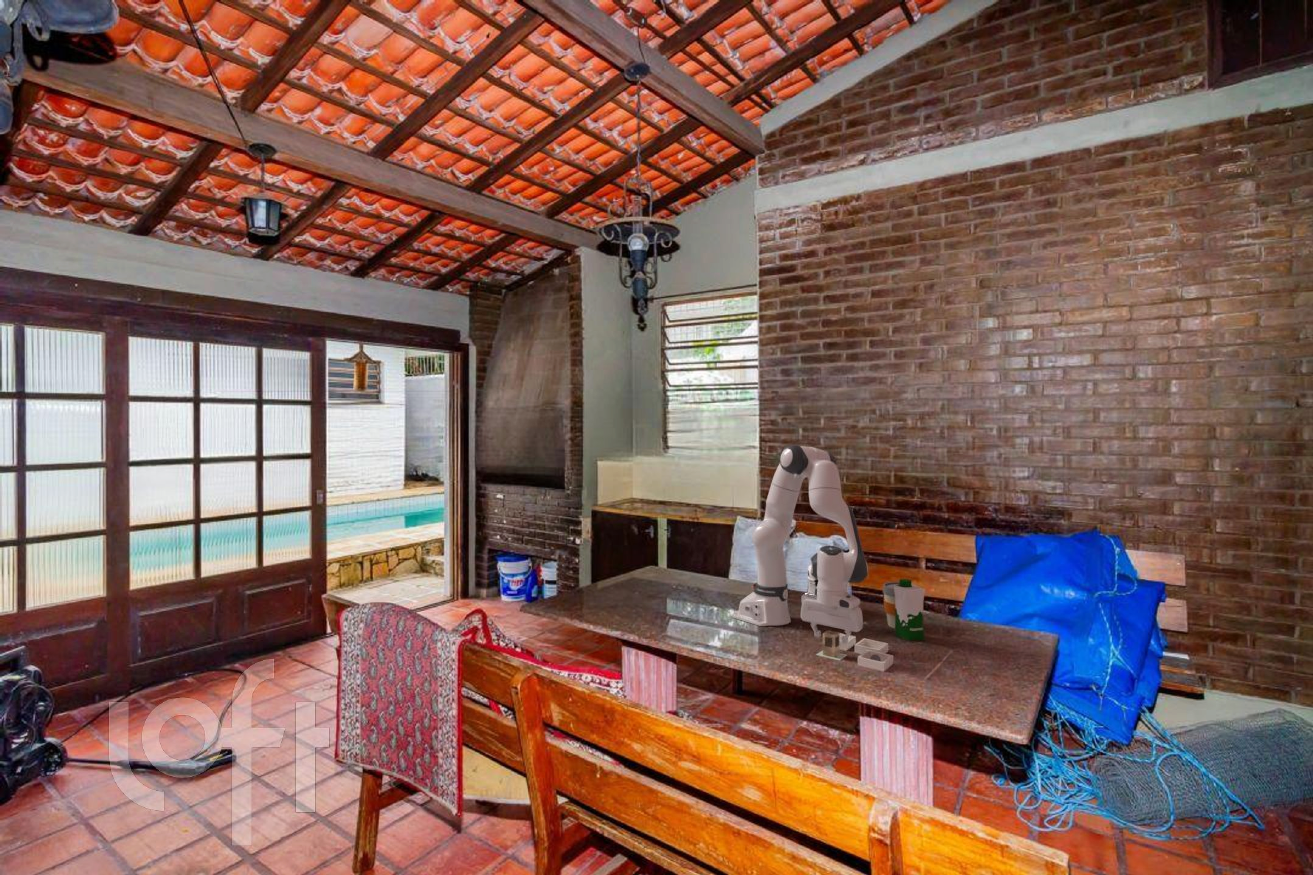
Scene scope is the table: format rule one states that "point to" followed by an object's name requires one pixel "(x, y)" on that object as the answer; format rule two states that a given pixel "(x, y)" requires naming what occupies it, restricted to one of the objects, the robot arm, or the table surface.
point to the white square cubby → (871, 646)
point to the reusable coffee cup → (890, 602)
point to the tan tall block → (831, 644)
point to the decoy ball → (875, 657)
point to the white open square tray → (850, 642)
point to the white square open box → (877, 665)
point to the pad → (832, 657)
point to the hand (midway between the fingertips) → (830, 639)
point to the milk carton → (909, 611)
